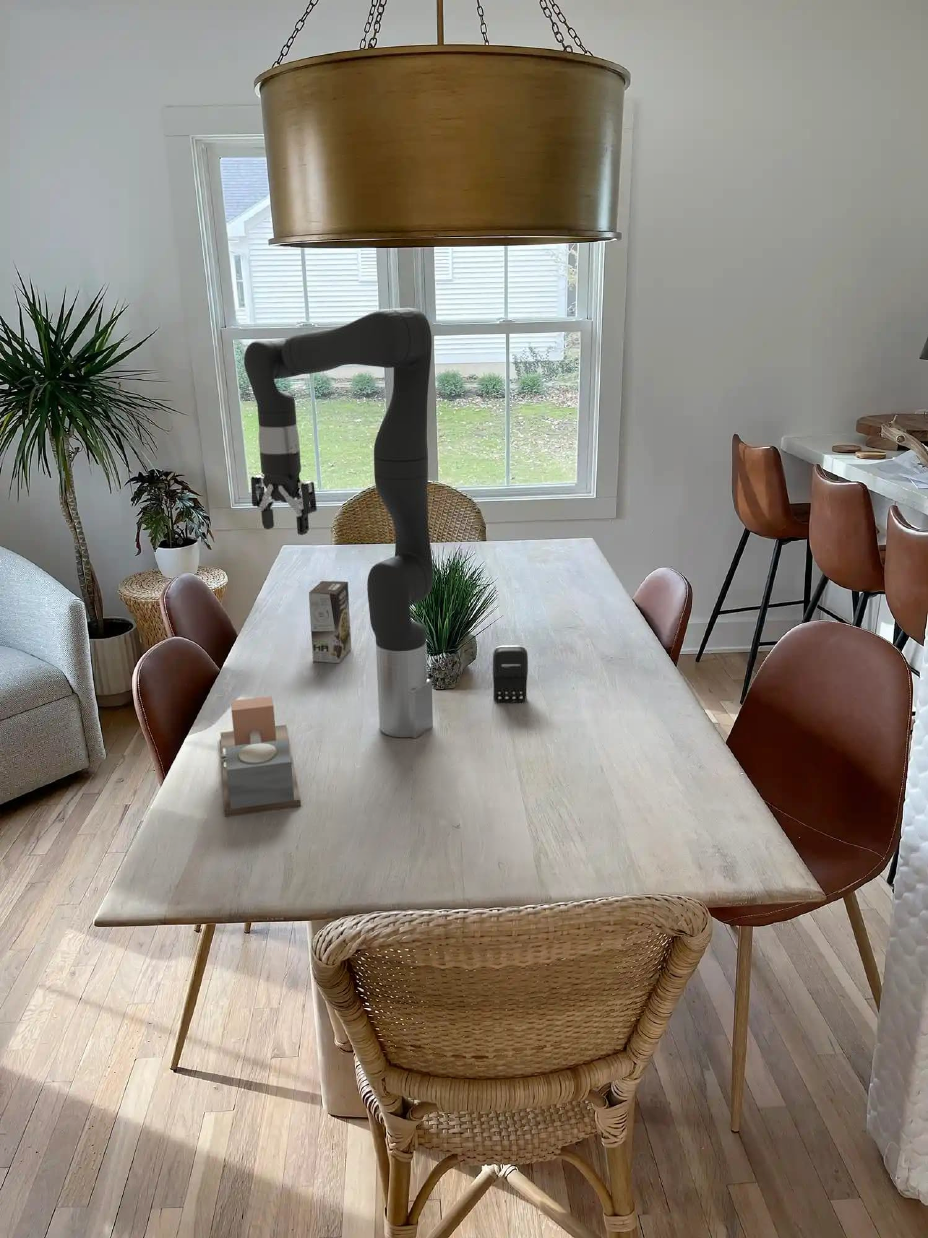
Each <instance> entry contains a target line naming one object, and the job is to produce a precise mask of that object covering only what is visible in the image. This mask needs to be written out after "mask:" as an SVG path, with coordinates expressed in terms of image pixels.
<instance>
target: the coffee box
mask: <svg viewBox="0 0 928 1238" xmlns="http://www.w3.org/2000/svg"><path fill="white" fill-rule="evenodd" d="M308 602H309V616H310V617H309V618H310V621H309V622H310V631H311V633H310V635H311V650H312V654H311V655H312V661H313V662H319V663H332V664H340V663H341V661H342V660H343V659H344V658H345V656H347V654H348V653H349V652H350V651H351V649H352V635H351V634H352V631H351V616H350V598H349V582H348V581H339V580H338V581H337V580H330V581H329V580H327V581H326V580H321V581H320V582H319V583H318V584H317V585H316V586H314V587H313V589H311V590H310V591H309V592H308Z"/></svg>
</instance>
